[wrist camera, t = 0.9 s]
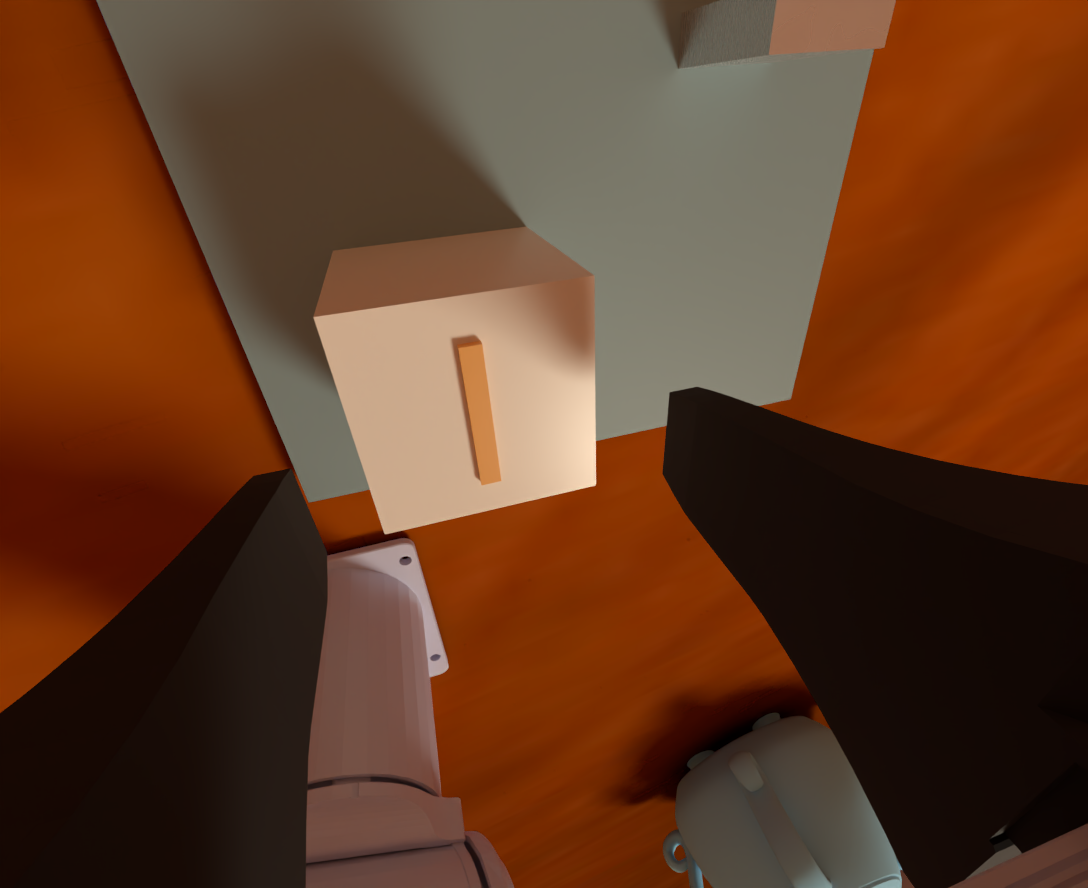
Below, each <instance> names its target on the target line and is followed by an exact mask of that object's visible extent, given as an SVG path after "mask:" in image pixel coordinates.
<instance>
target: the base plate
mask: <svg viewBox="0 0 1088 888" xmlns="http://www.w3.org/2000/svg"><path fill="white" fill-rule="evenodd" d="M96 1H97V3H98V6H99V8H100V10H101V13H102V15H103V17H104V20H105V22H106V25H107V27H108V29H109V32H110V34H111V36H112V39H113V41H114V43H115V46H116V48H117V51H118V53H119V55H120V58H121V60H122V62H123V65H124V67H125V69H126V72H127V74H128V77H129V79H130V81H131V84H132V86H133V88H134V91H135V93H136V95H137V98H138V100H139V103H140V105H141V107H142V110H143V112H144V114H145V117H146V119H147V121H148V124H149V126H150V129H151V131H152V133H153V136H154V138H155V140H156V143H157V145H158V147H159V150H160V152H161V155H162V157H163V159H164V162H165V164H166V166H167V169H168V171H169V173H170V176H171V178H172V181H173V183H174V185H175V188H176V190H177V192H178V195H179V197H180V199H181V202H182V204H183V206H184V209H185V211H186V214H187V216H188V218H189V221H190V223H191V225H192V228H193V230H194V232H195V235H196V237H197V240H198V242H199V244H200V247H201V249H202V251H203V254H204V256H205V258H206V261H207V263H208V266H209V268H210V270H211V273H212V275H213V277H214V280H215V282H216V284H217V287H218V289H219V292H220V294H221V296H222V299H223V301H224V303H225V306H226V308H227V310H228V313H229V315H230V318H231V320H232V322H233V325H234V327H235V329H236V332H237V334H238V336H239V339H240V341H241V344H242V346H243V348H244V351H245V353H246V355H247V358H248V360H249V362H250V365H251V367H252V370H253V372H254V374H255V377H256V379H257V381H258V384H259V386H260V388H261V391H262V393H263V396H264V398H265V400H266V403H267V405H268V407H269V410H270V412H271V414H272V417H273V419H274V422H275V424H276V426H277V429H278V431H279V433H280V436H281V438H282V440H283V443H284V445H285V448H286V450H287V452H288V455H289V457H290V459H291V462H292V464H293V466H294V469H295V471H296V474H297V476H298V478H299V481H300V483H301V485H302V488H303V490H304V492H305V495H306V497H307V500H308V502H314V501H318V500H323V499H328V498H332V497H337V496H342V495H346V494H351V493H356V492H360V491H365V490H370V488H369V485H368V482H367V479H366V476H365V473H364V470H363V467H362V464H361V461H360V458H359V455H358V452H357V449H356V445H355V442H354V439H353V436H352V433H351V430H350V427H349V424H348V421H347V418H346V415H345V412H344V409H343V406H342V403H341V400H340V397H339V394H338V391H337V388H336V385H335V382H334V378H333V375H332V372H331V369H330V366H329V363H328V360H327V357H326V354H325V351H324V348H323V345H322V342H321V339H320V336H319V333H318V330H317V327H316V324H315V321H314V318H313V317H314V313H315V310H316V307H317V303H318V300H319V296H320V293H321V290H322V286H323V283H324V280H325V276H326V273H327V269H328V266H329V263H330V259H331V256H332V253H333V251H334V250H342V249H350V248H358V247H366V246H374V245H383V244H391V243H399V242H407V241H415V240H423V239H431V238H439V237H447V236H455V235H463V234H471V233H479V232H487V231H495V230H503V229H511V228H519V227H528V228H529V229H530V230H532V231H533V232H535V233H536V234H537V235H539V236H540V237H542V238H543V239H544V240H546V241H547V242H548V243H550V244H551V245H553V246H554V247H555V248H557V249H558V250H560V251H561V252H562V253H564V254H565V255H567V256H568V257H569V258H571V259H572V260H573V261H575V262H576V263H578V264H579V265H580V266H582V267H583V268H585V269H586V270H587V271H589V272H590V273H592V274H593V275H594V282H595V418H596V441H597V440H602V439H607V438H611V437H616V436H621V435H625V434H630V433H635V432H639V431H644V430H649V429H653V428H658V427H663V426H667V416H668V404H669V393H670V392H673V391H678V390H683V389H688V388H693V387H700V388H704V389H708V390H712V391H715V392H718V393H722V394H725V395H728V396H731V397H733V398H736V399H739V400H742V401H745V402H748V403H750V404H753V405H756V406H760V405H765V404H770V403H774V402H779V401H783V400H788V399H791V395H792V391H793V387H794V383H795V378H796V374H797V370H798V366H799V362H800V358H801V353H802V349H803V345H804V341H805V337H806V332H807V328H808V324H809V320H810V316H811V311H812V307H813V303H814V299H815V295H816V290H817V286H818V282H819V278H820V274H821V269H822V265H823V261H824V257H825V253H826V248H827V244H828V240H829V236H830V232H831V227H832V223H833V219H834V215H835V211H836V207H837V202H838V198H839V194H840V190H841V186H842V181H843V177H844V173H845V169H846V165H847V160H848V156H849V152H850V148H851V144H852V139H853V135H854V131H855V127H856V123H857V118H858V114H859V110H860V106H861V102H862V97H863V93H864V89H865V85H866V81H867V76H868V72H869V68H870V64H871V60H872V56H873V51H874V49H871V50H863V51H856V52H848V53H841V54H833V55H826V56H818V57H811V58H803V59H796V60H788V61H781V62H773V63H759V64H744V65H729V66H714V67H699V68H684V69H678V66H679V51H680V37H681V22H682V13H683V12H686V11H689V10H692V9H695V8H698V7H701V6H704V5H707V4H710V3H713V2H716V1H719V0H96Z"/></svg>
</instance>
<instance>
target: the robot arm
mask: <svg viewBox="0 0 1088 888" xmlns="http://www.w3.org/2000/svg"><path fill="white" fill-rule="evenodd" d="M663 475H664V477H665V479H666V481H667V483H668V485H669V486H670V488H671V490H672V492H673V494H674V496H675V497H676V499H677V501H678V502H679V504H680V506H681V507H682V509H683V511H684V512H685V514H686V515H687V516H688V518H689V519H690V520H691V522H692V523H693V524H694V526H695V527H696V528H697V530H698V531H699V532H700V534H701V535H702V536H703V538H704V539H705V540H706V541H707V543H708V544H709V545H710V547H711V548H712V549H713V550H714V552H715V553H716V554H717V555H718V557H719V558H720V559H721V561H722V562H723V563H724V564H725V566H726V567H727V568H728V570H729V571H730V572H731V573H732V575H733V576H734V577H735V578H736V580H737V581H738V582H739V584H740V585H741V586H742V587H743V589H744V590H745V591H746V593H747V594H748V595H749V596H750V598H751V599H752V601H753V602H754V603H755V605H756V606H757V608H758V609H759V610H760V612H761V613H762V615H763V616H764V618H765V619H766V621H767V622H768V624H769V626H770V627H771V629H772V630H773V632H774V634H775V635H776V637H777V638H778V640H779V641H780V643H781V645H782V646H783V648H784V649H785V651H786V653H787V654H788V656H789V657H790V659H791V661H792V662H793V664H794V666H795V667H796V669H797V671H798V673H799V674H800V676H801V678H802V679H803V681H804V683H805V685H806V686H807V688H808V690H809V691H810V693H811V695H812V696H813V698H814V700H815V702H816V703H817V705H818V707H819V708H820V710H821V712H822V714H823V716H824V717H825V719H826V721H827V723H828V725H829V727H830V728H831V730H832V732H833V734H834V736H835V738H836V739H837V741H838V743H839V745H840V747H841V749H842V750H843V752H844V754H845V756H846V758H847V760H848V761H849V763H850V765H851V767H852V769H853V771H854V773H855V775H856V777H857V779H858V781H859V782H860V784H861V786H862V788H863V790H864V792H865V794H866V796H867V798H868V800H869V802H870V804H871V806H872V808H873V810H874V812H875V814H876V816H877V818H878V820H879V822H880V824H881V826H882V828H883V830H884V832H885V834H886V836H887V838H888V840H889V843H890V845H891V847H892V849H893V851H894V853H895V855H896V857H897V859H898V862H899V864H900V866H901V868H902V870H903V872H904V873H905V875H906V876H907V877H908V879H909V880H910V882H911V883H912V885H913V886H914V887H915V888H1088V485H1082V484H1074V483H1066V482H1058V481H1051V480H1045V479H1038V478H1031V477H1025V476H1018V475H1012V474H1007V473H1001V472H996V471H990V470H985V469H979V468H974V467H968V466H963V465H958V464H953V463H949V462H944V461H939V460H934V459H930V458H926V457H922V456H918V455H914V454H910V453H906V452H901V451H897V450H893V449H889V448H885V447H882V446H878V445H874V444H871V443H867V442H864V441H860V440H857V439H854V438H851V437H847V436H844V435H841V434H838V433H834V432H831V431H828V430H825V429H822V428H819V427H816V426H813V425H810V424H807V423H804V422H801V421H798V420H795V419H792V418H790V417H787V416H784V415H781V414H778V413H775V412H773V411H770V410H767V409H764V408H762V407H759V406H756V405H753V404H750V403H748V402H745V401H742V400H739V399H736V398H733V397H731V396H728V395H725V394H722V393H718V392H715V391H712V390H708V389H704V388H700V387H693V388H688V389H683V390H678V391H673V392H670V393H669V404H668V416H667V428H666V439H665V451H664V463H663ZM404 556H408V557H409V558H407V559H402V557H404ZM447 669H448V660H447V656H446V653H445V649H444V646H443V642H442V639H441V635H440V632H439V628H438V625H437V621H436V618H435V614H434V611H433V607H432V604H431V601H430V597H429V594H428V590H427V587H426V583H425V580H424V576H423V573H422V569H421V566H420V562H419V559H418V555H417V552H416V548H415V545H414V543H413V541H411V540H410V539H407V538H400V539H396V540H391V541H387V542H383V543H379V544H374V545H370V546H366V547H362V548H357V549H353V550H349V551H345V552H340V553H336V554H332V555H328V556H327V551H326V549H325V546H324V544H323V542H322V539H321V537H320V535H319V532H318V530H317V528H316V525H315V523H314V521H313V518H312V516H311V514H310V511H309V509H308V507H307V504H306V502H305V500H304V497H303V495H302V493H301V490H300V488H299V486H298V483H297V481H296V479H295V476H294V474H293V472H292V469H286V470H281V471H276V472H271V473H266V474H261V475H256V476H253V477H252V478H251V479H250V480H249V481H248V482H247V483H246V484H245V485H244V486H243V487H242V488H241V489H240V490H239V491H238V492H237V493H236V494H235V495H234V496H233V497H232V498H231V499H230V500H229V501H228V502H227V504H226V505H225V506H224V507H223V508H222V509H221V510H220V511H219V512H218V513H217V514H216V515H215V517H214V518H213V519H212V520H211V521H210V522H209V523H208V524H207V525H206V526H205V527H204V528H203V529H202V530H201V531H200V532H199V534H198V535H197V536H196V537H195V538H194V539H193V540H192V541H191V542H190V543H189V544H188V545H187V546H186V547H185V548H184V549H183V550H182V552H181V553H180V554H179V555H178V556H177V557H176V558H175V559H174V560H173V561H172V562H171V563H170V564H169V565H168V566H167V567H166V568H165V569H164V570H163V571H162V572H161V573H160V574H159V575H158V576H157V577H156V578H155V579H154V580H153V581H151V582H150V583H149V584H148V585H147V586H146V587H145V588H144V589H143V590H142V591H141V592H140V593H139V594H138V595H137V596H136V597H135V598H134V599H133V600H132V601H131V602H130V603H129V604H128V605H127V606H126V607H125V608H124V609H123V610H122V611H121V612H120V613H119V614H118V615H117V616H115V617H114V618H113V619H112V620H111V621H110V622H109V623H108V624H107V625H106V626H104V627H103V628H102V629H101V630H100V631H99V632H98V633H97V634H96V635H94V636H93V637H92V638H91V639H90V640H89V641H88V642H87V643H85V644H84V645H83V646H82V647H81V648H80V649H79V650H77V651H76V652H75V653H74V654H73V655H71V656H70V657H69V658H68V659H67V660H65V661H64V662H63V663H62V664H61V665H60V666H58V667H57V668H56V669H55V670H54V671H52V672H51V673H50V674H49V675H48V676H46V677H45V678H44V679H43V680H42V681H40V682H39V683H38V684H37V685H36V686H34V687H33V688H32V689H31V690H29V691H28V692H27V693H26V694H24V695H23V696H22V697H21V698H20V699H18V700H17V701H16V702H14V703H13V704H12V705H10V706H9V707H8V708H6V709H5V710H4V711H3V712H1V713H0V888H514V886H513V883H512V880H511V878H510V876H509V873H508V871H507V869H506V867H505V865H504V864H503V862H502V861H501V859H500V858H499V856H498V854H497V853H496V851H495V849H494V848H493V846H492V844H491V843H490V842H489V841H488V840H487V838H486V837H485V836H484V835H482V834H481V833H479V832H476V831H465V832H464V824H463V816H462V808H461V800H460V798H458V797H453V798H445V797H441V785H440V774H439V764H438V754H437V744H436V734H435V725H434V715H433V705H432V695H431V685H430V677H432V676H435V675H439V674H442V673H444V672H445V671H446V670H447Z"/></svg>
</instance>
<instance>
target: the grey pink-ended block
mask: <svg viewBox="0 0 1088 888" xmlns="http://www.w3.org/2000/svg"><path fill="white" fill-rule="evenodd" d="M895 2H896V0H719V1H716V2H713V3H710V4H707V5H704V6H701V7H698V8H695V9H692V10H689V11H686V12H683V13H682V22H681V37H680V51H679V66H678V69H684V68H699V67H714V66H729V65H744V64H759V63H773V62H781V61H788V60H796V59H803V58H811V57H818V56H826V55H833V54H841V53H848V52H856V51H863V50H871V49H878V48H884V46H885V42H886V38H887V34H888V30H889V26H890V22H891V18H892V14H893V10H894V6H895Z"/></svg>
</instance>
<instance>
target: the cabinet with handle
mask: <svg viewBox="0 0 1088 888" xmlns="http://www.w3.org/2000/svg"><path fill="white" fill-rule="evenodd" d="M313 318H314V321H315V324H316V327H317V330H318V333H319V336H320V339H321V342H322V345H323V348H324V351H325V354H326V357H327V360H328V363H329V366H330V369H331V372H332V375H333V378H334V382H335V385H336V388H337V391H338V394H339V397H340V400H341V403H342V406H343V409H344V412H345V415H346V418H347V421H348V424H349V427H350V430H351V433H352V436H353V439H354V442H355V445H356V449H357V452H358V455H359V458H360V461H361V464H362V467H363V470H364V473H365V476H366V479H367V482H368V485H369V488H370V491H371V494H372V497H373V500H374V503H375V506H376V509H377V512H378V515H379V519H380V522H381V525H382V528H383V531H384V534H389V533H394V532H398V531H402V530H406V529H411V528H415V527H419V526H424V525H428V524H432V523H436V522H441V521H445V520H449V519H454V518H458V517H462V516H466V515H471V514H475V513H479V512H484V511H488V510H492V509H497V508H501V507H505V506H509V505H514V504H518V503H522V502H527V501H531V500H535V499H539V498H544V497H548V496H552V495H557V494H561V493H565V492H569V491H574V490H578V489H582V488H587V487H591V486H595V485H596V418H595V282H594V275H593V274H592V273H590V272H589V271H587V270H586V269H585V268H583V267H582V266H580V265H579V264H578V263H576V262H575V261H573V260H572V259H571V258H569V257H568V256H567V255H565V254H564V253H562V252H561V251H560V250H558V249H557V248H555V247H554V246H553V245H551V244H550V243H548V242H547V241H546V240H544V239H543V238H542V237H540V236H539V235H537V234H536V233H535V232H533V231H532V230H530V229H529V228H528V227H519V228H511V229H503V230H495V231H487V232H479V233H471V234H463V235H455V236H447V237H439V238H431V239H423V240H415V241H407V242H399V243H391V244H383V245H374V246H366V247H358V248H350V249H342V250H334V251H333V253H332V256H331V259H330V263H329V266H328V269H327V273H326V276H325V280H324V283H323V286H322V290H321V293H320V296H319V300H318V303H317V307H316V310H315V313H314V317H313Z"/></svg>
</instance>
